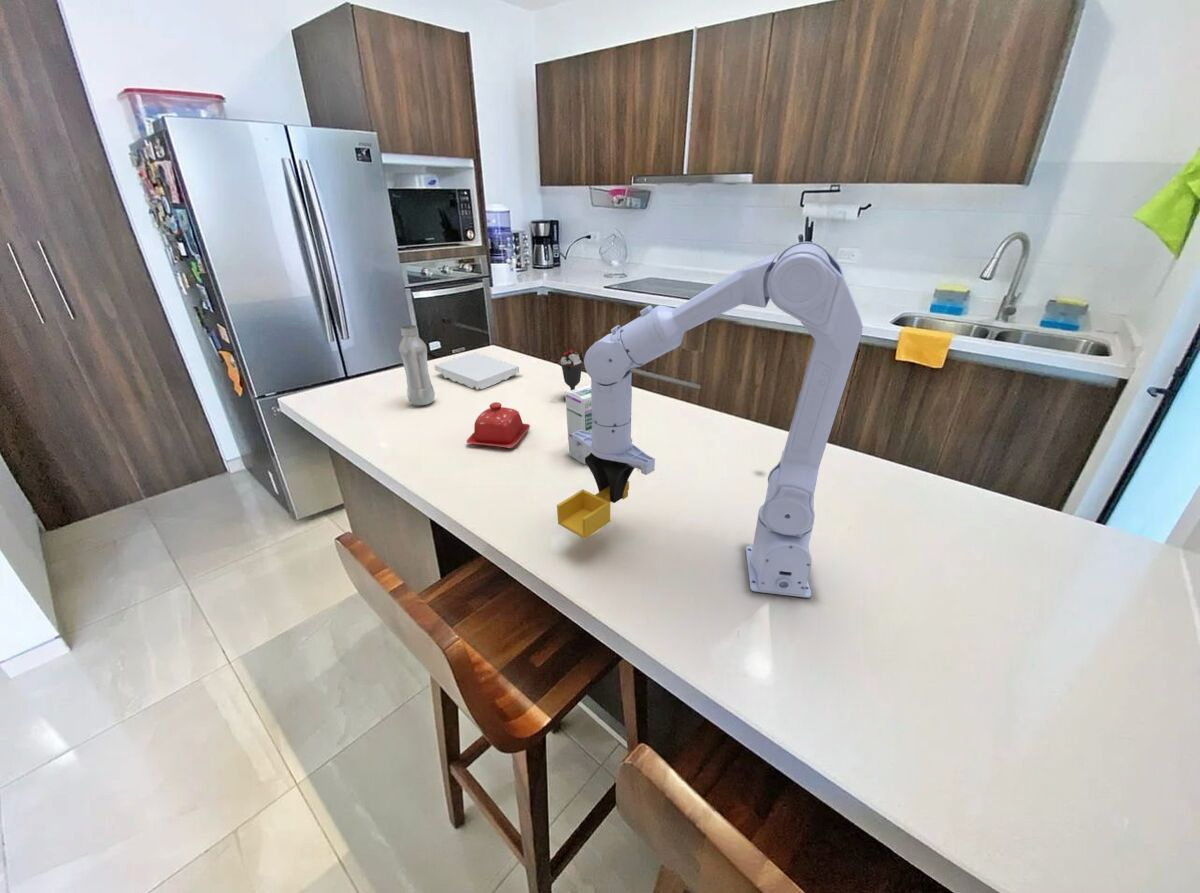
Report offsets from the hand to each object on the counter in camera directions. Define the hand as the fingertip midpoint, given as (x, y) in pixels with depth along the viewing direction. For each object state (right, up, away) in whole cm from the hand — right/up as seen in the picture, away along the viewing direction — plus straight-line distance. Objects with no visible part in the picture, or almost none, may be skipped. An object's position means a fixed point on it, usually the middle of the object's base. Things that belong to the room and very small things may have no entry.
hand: (611, 497), depth 78 cm
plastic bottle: (-48, +19, +51) cm, 73 cm away
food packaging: (-38, +29, +70) cm, 84 cm away
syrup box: (-4, +6, +25) cm, 26 cm away
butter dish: (-24, +10, +33) cm, 42 cm away
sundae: (-9, +20, +53) cm, 58 cm away
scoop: (-2, -2, -1) cm, 3 cm away
